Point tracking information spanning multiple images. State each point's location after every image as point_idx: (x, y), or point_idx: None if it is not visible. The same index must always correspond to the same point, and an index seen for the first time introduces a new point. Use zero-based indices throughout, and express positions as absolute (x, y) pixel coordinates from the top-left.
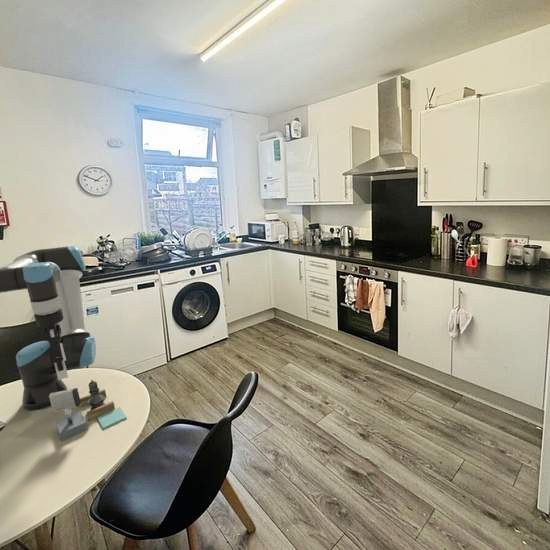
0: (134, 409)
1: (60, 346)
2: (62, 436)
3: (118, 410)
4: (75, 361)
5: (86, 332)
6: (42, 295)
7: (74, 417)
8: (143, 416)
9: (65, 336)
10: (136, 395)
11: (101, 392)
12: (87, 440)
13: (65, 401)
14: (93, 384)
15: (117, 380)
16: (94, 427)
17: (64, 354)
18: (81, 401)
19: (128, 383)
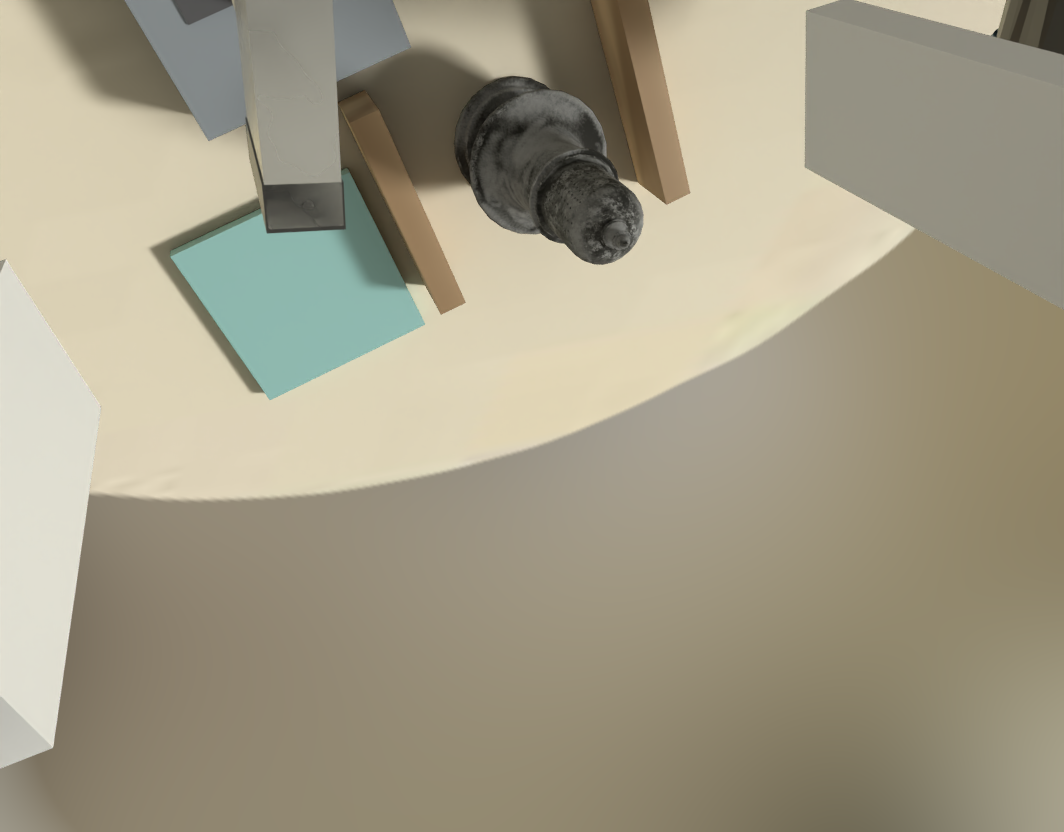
0: (367, 420)
1: (1060, 260)
2: None
3: (380, 325)
4: (1045, 42)
5: None
6: None
7: None
8: (257, 492)
9: None
10: (543, 398)
11: (655, 173)
12: (36, 149)
13: (242, 40)
14: (577, 246)
15: (824, 223)
16: (219, 170)
17: (887, 209)
18: (610, 2)
19: (732, 313)
